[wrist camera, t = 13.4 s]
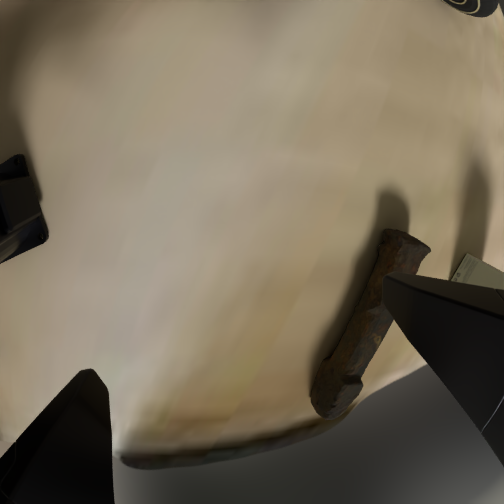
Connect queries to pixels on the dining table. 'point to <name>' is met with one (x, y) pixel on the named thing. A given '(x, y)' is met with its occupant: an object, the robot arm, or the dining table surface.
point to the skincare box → (479, 273)
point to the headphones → (474, 6)
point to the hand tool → (364, 328)
